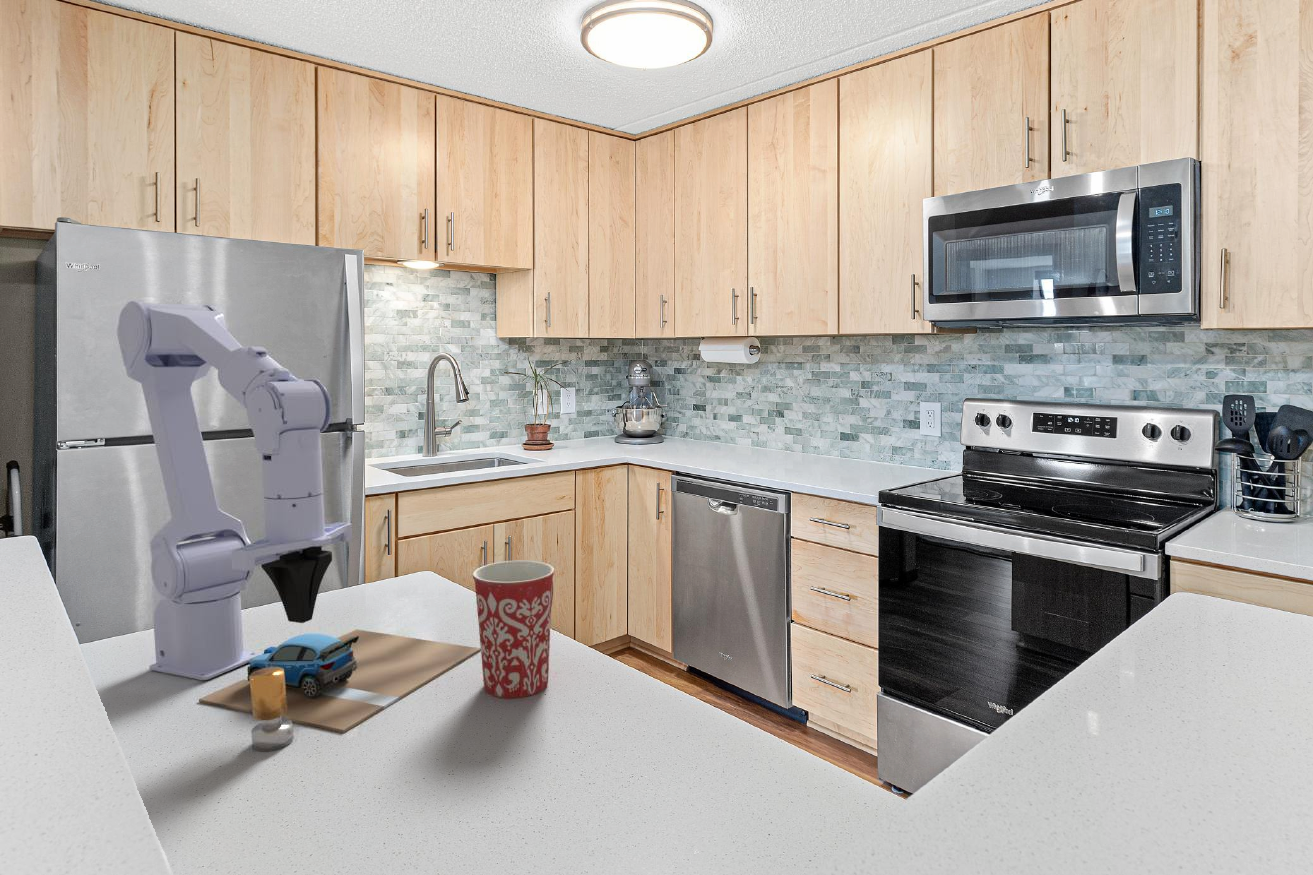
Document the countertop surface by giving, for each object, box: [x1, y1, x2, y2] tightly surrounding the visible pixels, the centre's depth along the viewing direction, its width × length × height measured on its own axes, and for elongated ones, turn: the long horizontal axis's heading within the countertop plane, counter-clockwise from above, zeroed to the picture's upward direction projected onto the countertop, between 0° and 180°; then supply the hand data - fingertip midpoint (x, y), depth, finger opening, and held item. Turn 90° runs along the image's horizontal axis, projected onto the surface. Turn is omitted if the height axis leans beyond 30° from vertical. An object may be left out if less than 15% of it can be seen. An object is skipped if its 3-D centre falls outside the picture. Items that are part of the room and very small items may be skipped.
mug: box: [472, 560, 556, 699], centre depth 91 cm, size 13×9×14 cm
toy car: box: [246, 633, 359, 698], centre depth 89 cm, size 6×12×6 cm, turn 73°
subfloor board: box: [198, 629, 481, 734], centre depth 93 cm, size 20×24×1 cm
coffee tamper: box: [249, 667, 295, 752], centre depth 76 cm, size 4×4×7 cm
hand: (300, 620), depth 84 cm, fingers closed
